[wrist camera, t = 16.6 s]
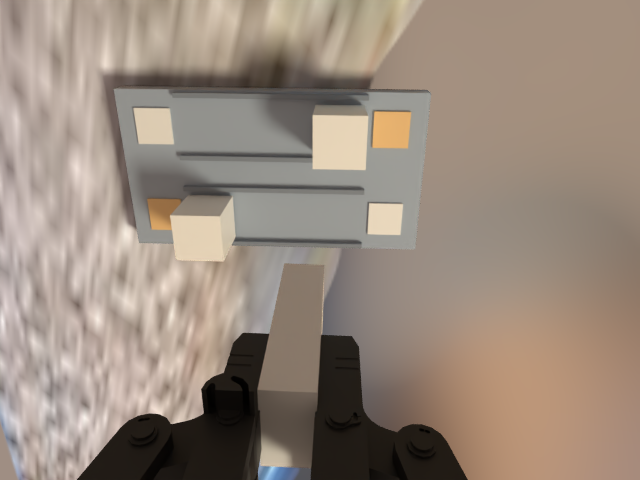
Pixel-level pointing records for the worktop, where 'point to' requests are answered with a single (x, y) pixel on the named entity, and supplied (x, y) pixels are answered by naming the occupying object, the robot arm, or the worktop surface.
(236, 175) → the switch bank
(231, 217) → the tab
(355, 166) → the tab
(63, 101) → the worktop surface
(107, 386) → the worktop surface
